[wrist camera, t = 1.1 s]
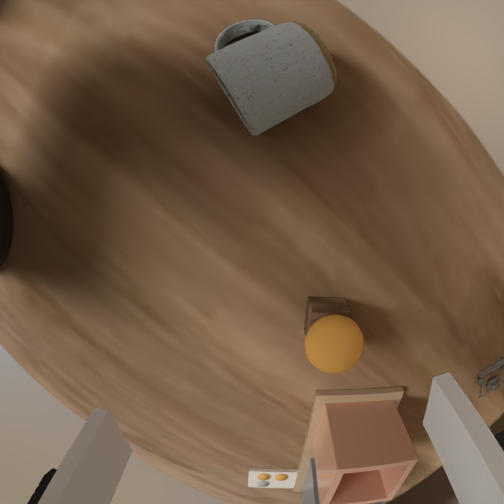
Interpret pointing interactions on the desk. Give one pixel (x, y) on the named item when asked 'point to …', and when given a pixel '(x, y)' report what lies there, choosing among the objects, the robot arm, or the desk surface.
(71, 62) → the desk surface
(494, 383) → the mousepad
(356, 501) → the double square tube
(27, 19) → the desk surface
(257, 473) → the tile
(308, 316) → the stand
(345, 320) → the ball
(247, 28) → the ceramic mug
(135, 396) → the desk surface
